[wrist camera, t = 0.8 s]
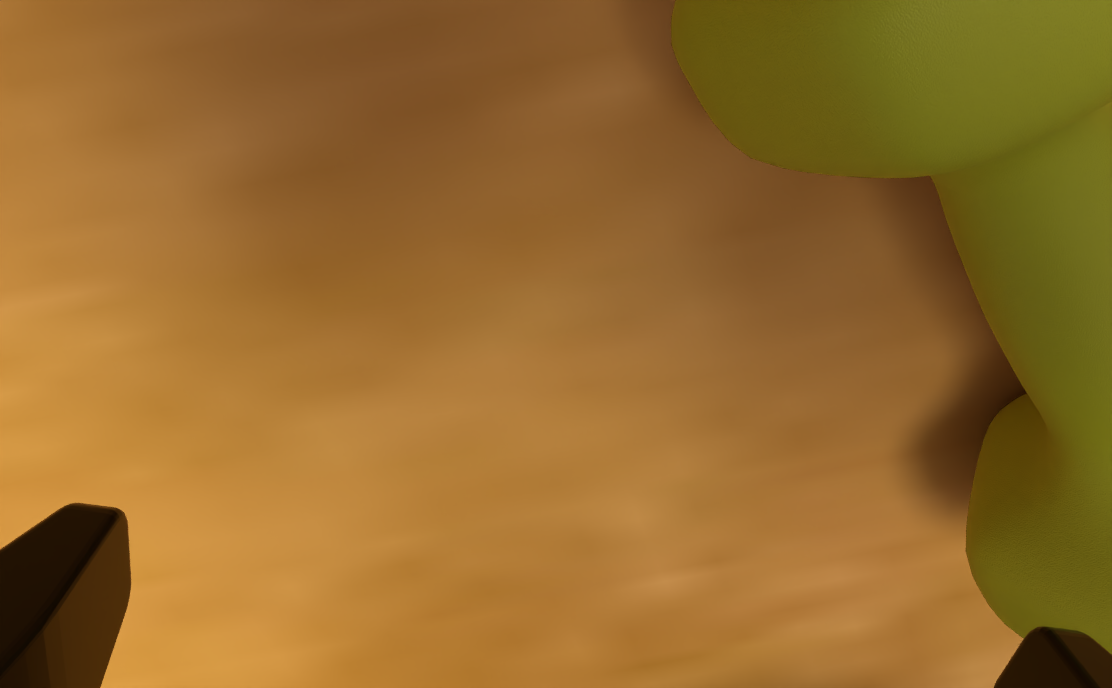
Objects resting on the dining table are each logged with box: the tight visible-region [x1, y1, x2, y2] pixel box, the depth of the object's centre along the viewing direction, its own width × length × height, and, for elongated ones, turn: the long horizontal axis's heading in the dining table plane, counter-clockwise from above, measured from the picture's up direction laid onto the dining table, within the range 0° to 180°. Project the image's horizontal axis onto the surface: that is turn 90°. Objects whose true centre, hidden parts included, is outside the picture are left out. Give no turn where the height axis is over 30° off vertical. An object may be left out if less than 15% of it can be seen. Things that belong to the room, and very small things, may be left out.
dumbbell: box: [671, 0, 1112, 654], centre depth 16 cm, size 16×8×7 cm, turn 32°
